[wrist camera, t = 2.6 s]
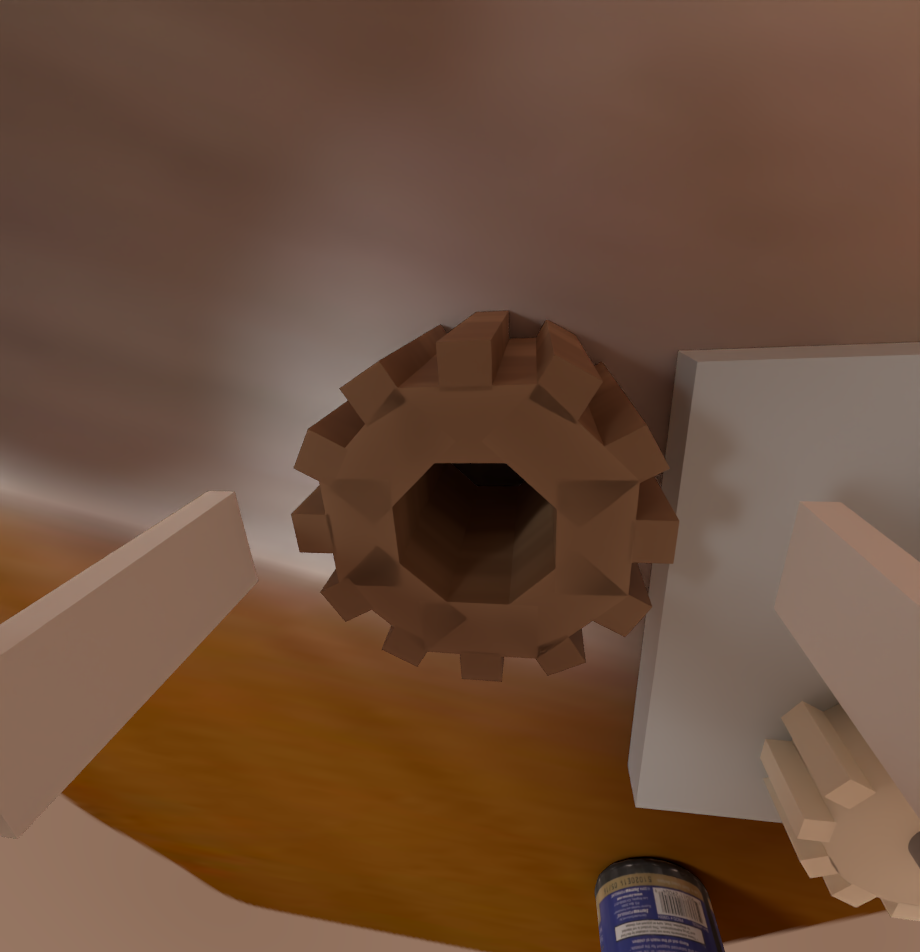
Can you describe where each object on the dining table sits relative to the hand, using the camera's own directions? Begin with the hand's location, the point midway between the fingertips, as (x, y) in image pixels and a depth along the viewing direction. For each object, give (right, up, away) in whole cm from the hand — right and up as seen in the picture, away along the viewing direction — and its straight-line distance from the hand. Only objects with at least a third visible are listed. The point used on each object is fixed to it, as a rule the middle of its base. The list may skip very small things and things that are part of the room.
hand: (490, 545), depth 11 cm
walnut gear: (+1, +3, +6) cm, 7 cm away
